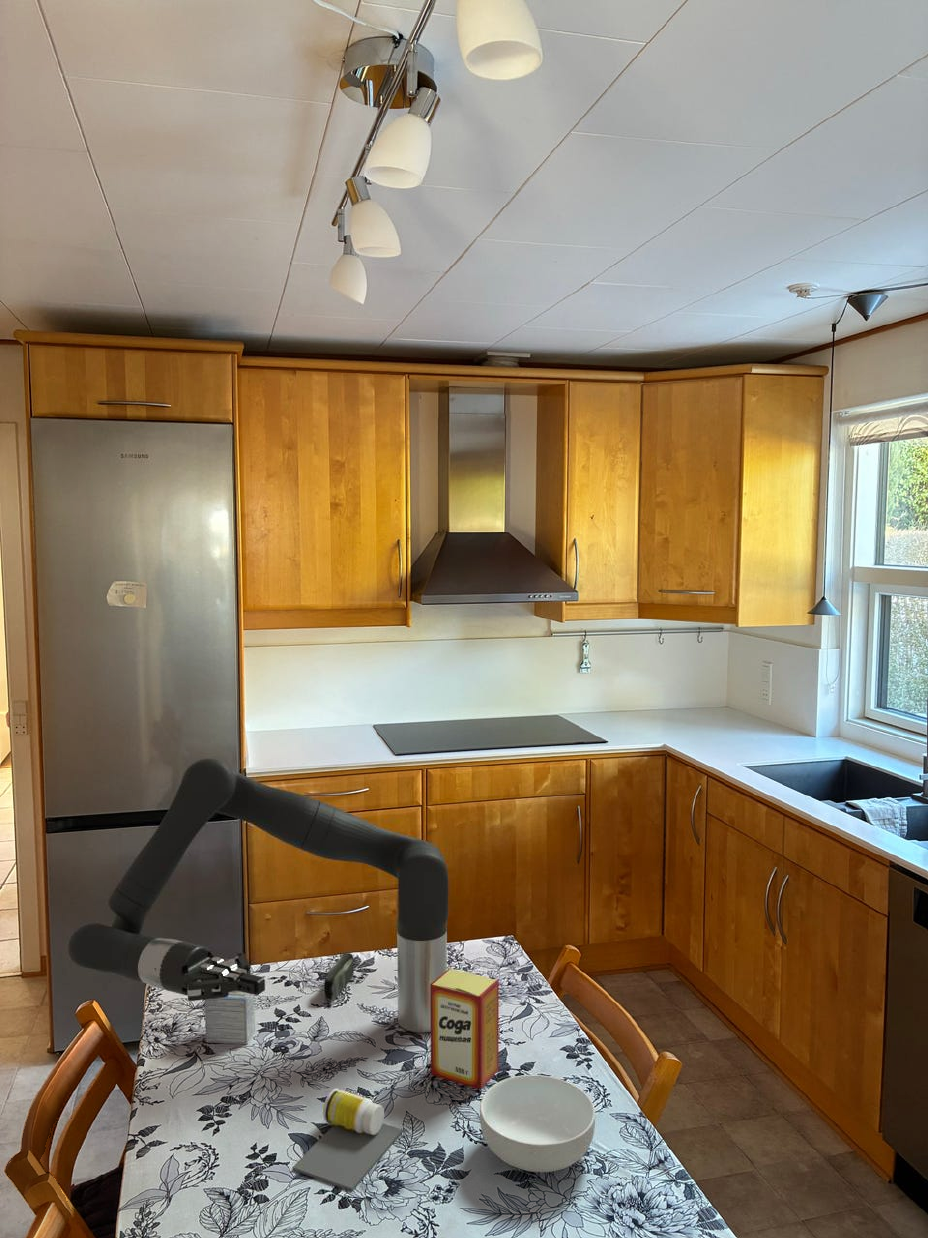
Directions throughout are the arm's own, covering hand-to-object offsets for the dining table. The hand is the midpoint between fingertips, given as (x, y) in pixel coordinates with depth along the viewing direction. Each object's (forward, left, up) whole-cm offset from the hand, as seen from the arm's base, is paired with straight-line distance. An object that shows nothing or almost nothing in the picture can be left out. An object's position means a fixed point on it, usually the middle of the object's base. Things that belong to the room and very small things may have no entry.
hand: (262, 986), depth 135 cm
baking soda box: (-33, -8, -22) cm, 40 cm away
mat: (-13, +9, -21) cm, 26 cm away
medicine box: (+7, -26, -22) cm, 35 cm away
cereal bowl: (-40, +14, -22) cm, 47 cm away
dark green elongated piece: (-12, -41, -22) cm, 49 cm away
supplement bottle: (-10, +2, -19) cm, 21 cm away
